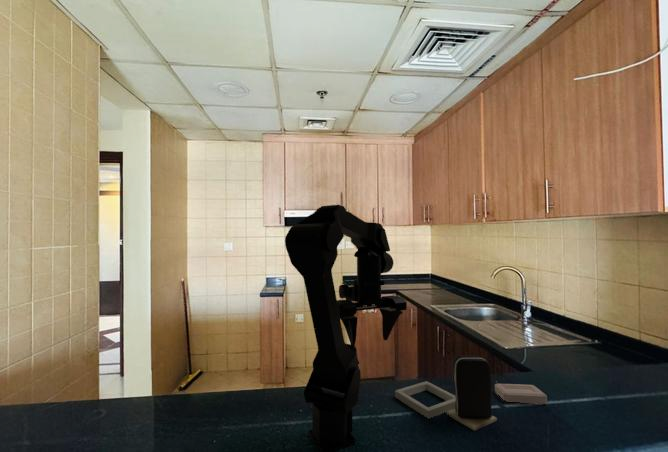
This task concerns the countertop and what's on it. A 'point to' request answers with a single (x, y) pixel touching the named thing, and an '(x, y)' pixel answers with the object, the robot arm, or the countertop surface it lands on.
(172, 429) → the countertop surface
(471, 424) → the pad
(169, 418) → the countertop surface
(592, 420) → the countertop surface
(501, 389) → the soap bar
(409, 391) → the frame
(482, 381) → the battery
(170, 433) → the countertop surface
